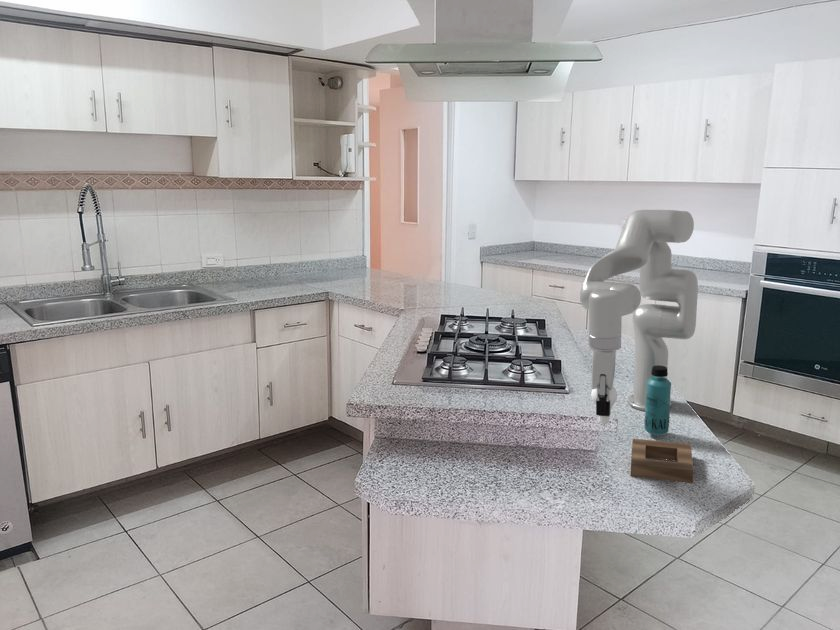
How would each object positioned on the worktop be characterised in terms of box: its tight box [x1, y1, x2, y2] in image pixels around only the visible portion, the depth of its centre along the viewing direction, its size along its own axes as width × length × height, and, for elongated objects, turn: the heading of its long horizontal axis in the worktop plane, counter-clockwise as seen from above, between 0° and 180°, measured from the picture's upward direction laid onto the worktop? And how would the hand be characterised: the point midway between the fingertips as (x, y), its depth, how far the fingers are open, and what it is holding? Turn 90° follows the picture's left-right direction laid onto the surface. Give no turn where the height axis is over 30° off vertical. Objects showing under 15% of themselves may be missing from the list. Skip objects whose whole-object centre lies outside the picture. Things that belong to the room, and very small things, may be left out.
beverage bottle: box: [643, 365, 672, 436], centre depth 173 cm, size 6×7×20 cm
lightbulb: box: [590, 386, 618, 426], centre depth 157 cm, size 6×6×11 cm
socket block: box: [630, 438, 694, 484], centre depth 158 cm, size 14×14×4 cm
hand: (604, 409), depth 158 cm, fingers closed on lightbulb, 5 cm apart
